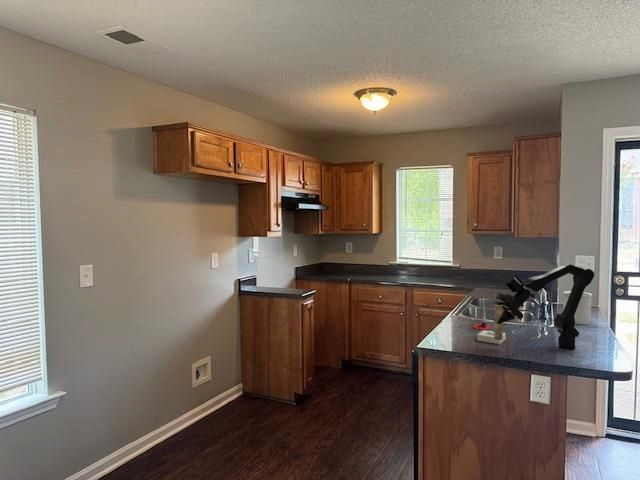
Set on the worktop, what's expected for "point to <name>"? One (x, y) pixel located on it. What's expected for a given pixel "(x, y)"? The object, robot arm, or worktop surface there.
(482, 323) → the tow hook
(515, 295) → the robot arm
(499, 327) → the pin
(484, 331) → the socket block
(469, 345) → the worktop surface
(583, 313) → the utensil holder
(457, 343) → the worktop surface
